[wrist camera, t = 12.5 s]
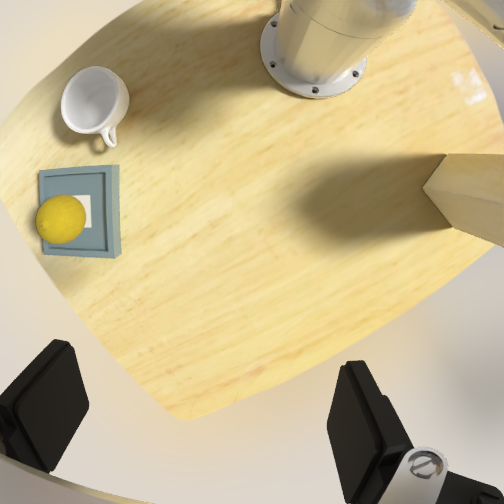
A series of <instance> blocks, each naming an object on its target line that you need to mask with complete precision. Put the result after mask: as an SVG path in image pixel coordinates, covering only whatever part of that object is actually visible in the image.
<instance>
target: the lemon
mask: <svg viewBox="0 0 504 504" xmlns="http://www.w3.org/2000/svg"><path fill="white" fill-rule="evenodd" d="M85 223H86V212H85V209H84V207H83V205H82V203H81V202H80V201H79V200H78V199H77V198H75V197H73V196H70V195H57V196H54V197H51V198H50V199H48V200H47V201H45V202H44V203H43V204H42V205H41V207H40V208H39V210H38V212H37V215H36V228H37V231H38V233H39V235H40V236H41V237H42V238H43V239H44V240H45V241H47V242H49V243H52V244H65V243H68V242H70V241H72V240H74V239H75V238H76V237H78V236H79V235H80V233H81V232H82V231H83V229H84V226H85Z"/></svg>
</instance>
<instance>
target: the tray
mask: <svg viewBox="0 0 504 504" xmlns="http://www.w3.org/2000/svg"><path fill="white" fill-rule="evenodd" d="M39 191H40V207H41V205H42V204H43V203H44V202H45V201H47V200H48V199H50V198H51V197H54V196H57V195H70V196H73V197H75V198H77V199H78V200H79V201H80V202H81V203H82V205H83V207H84V209H85V212H86V223H85V226H84V229H83V231H82V232H81V233H80V235H79V236H78V237H76V238H75V239H74V240H72V241H70V242H68V243H65V244H52V243H49V242H47V241H45V240H44V239H43V238H42V239H43V248H44V255H60V256H78V257H96V258H116V257H117V256H119V255H120V254H121V238H120V212H119V165H101V166H85V167H72V168H60V169H49V170H39Z"/></svg>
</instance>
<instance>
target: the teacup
mask: <svg viewBox="0 0 504 504" xmlns="http://www.w3.org/2000/svg"><path fill="white" fill-rule="evenodd" d="M128 106H129V93H128V90H127V87H126V85H125V83H124V82H123V80H122V79H121V78H120V77H119V76H118V75H116V74H115V73H114V72H113V71H111V70H109V69H107V68H104V67H101V66H91V67H87V68H84V69H82V70H81V71H79V72H78V73H76V74H75V75H74V76H73V77H72V78H71V79H70V81H69V82H68V84H67V85H66V87H65V89H64V92H63V95H62V99H61V113H62V117H63V119H64V121H65V123H66V125H67V126H68V127H69V128H70V129H72V130H73V131H75V132H78V133H82V134H99V133H100V134H101V135H102V137H103V139H104V141H105V143H106V144H107V146H108V147H110V148H114V147H116V145H117V139H116V127H117V125H118V124H119V123H120V122H121V120H122V119H123V118H124V116H125V114H126V112H127V109H128ZM108 134H109V135H110V137H111V140H112V142H111V141H110V139H109V136H108Z"/></svg>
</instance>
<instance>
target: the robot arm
mask: <svg viewBox="0 0 504 504" xmlns="http://www.w3.org/2000/svg"><path fill="white" fill-rule="evenodd" d="M441 1H443V2H445V3H446V4H447V5H449V6H450V7H451V8H453V9H454V10H456V11H457V12H458V13H459V14H461V15H462V16H463V17H465V18H466V19H467V20H469V21H470V22H471V23H472V24H474V25H475V26H476V27H477V28H479V29H480V30H481V31H482V32H483V33H485V34H486V35H487V36H488V37H489V38H490V39H492V40H493V41H494V42H495V43H496V44H497V45H498V46H499V47H501V48H502V49H503V50H504V0H441ZM416 3H417V0H282V4H281V9H280V12H279V13H277V14H276V15H275V16H273V17H272V18H271V19H270V20H269V22H268V23H267V24H266V26H265V28H264V30H263V32H262V35H261V41H260V52H261V57H262V61H263V63H264V65H265V68H266V69H267V71H268V72H269V74H270V75H271V76H272V77H273V78H274V79H275V80H276V82H277V83H279V84H280V85H281V86H283V87H284V88H285V89H287V90H289V91H291V92H293V93H295V94H298V95H301V96H304V97H309V98H315V99H321V98H331V97H336V96H338V95H340V94H343V93H345V92H346V91H348V90H350V89H351V88H352V87H353V86H354V85H356V84H357V83H358V81H359V80H360V79H361V77H362V76H363V73H364V71H365V69H366V63H367V56H368V55H369V54H370V53H371V52H372V51H373V50H374V49H376V48H377V47H378V46H379V45H380V44H381V43H382V42H384V41H385V40H386V39H387V38H388V37H389V36H391V35H392V34H393V33H394V32H395V31H396V30H398V29H399V28H400V27H401V26H402V25H403V24H404V23H405V22H406V21H407V20H408V19H409V18H410V16H411V15H412V13H413V11H414V9H415V6H416ZM272 26H276V27H272ZM271 65H274V66H275V67H274V68H271ZM352 74H354V75H355V77H354V76H353V75H352ZM312 90H315V91H316V93H312ZM88 409H89V401H88V397H87V394H86V391H85V388H84V384H83V381H82V377H81V373H80V370H79V366H78V362H77V358H76V354H75V350H74V348H73V347H72V346H71V345H70V343H69V342H67V341H63V340H57V339H54V340H53V341H52V342H51V343H50V344H49V345H48V346H47V347H46V348H45V349H44V350H43V351H42V352H41V353H40V354H39V355H38V356H37V357H36V358H35V359H34V360H33V361H32V362H31V363H30V364H29V365H28V366H27V367H26V368H25V369H24V370H23V371H22V373H20V375H19V376H18V377H17V378H16V379H15V380H14V381H13V382H12V383H11V384H10V385H9V386H8V387H7V389H6V390H5V391H4V392H3V393H2V394H1V395H0V504H153V503H148V502H142V501H138V500H133V499H129V498H124V497H120V496H116V495H112V494H108V493H104V492H101V491H98V490H94V489H91V488H87V487H84V486H81V485H78V484H75V483H72V482H69V481H66V480H63V479H60V478H58V477H55V476H52V475H50V474H49V473H50V471H54V469H55V468H56V466H57V464H58V462H59V461H60V459H61V457H62V455H63V453H64V451H65V450H66V448H67V446H68V444H69V443H70V441H71V439H72V437H73V435H74V434H75V432H76V430H77V429H78V427H79V425H80V423H81V421H82V420H83V418H84V416H85V415H86V413H87V411H88ZM327 431H328V435H329V439H330V443H331V447H332V450H333V455H334V459H335V463H336V467H337V471H338V474H339V479H340V483H341V487H342V491H343V495H344V499H345V502H346V503H347V504H350V503H351V504H504V496H503V494H502V493H501V491H500V490H498V489H497V488H496V487H494V486H491V485H488V484H485V483H482V482H479V481H476V480H473V479H470V478H467V477H464V476H461V475H458V474H455V473H453V472H450V471H447V470H448V463H447V460H446V458H445V457H444V455H443V454H442V453H440V452H439V451H438V450H435V449H433V448H429V447H417V448H414V447H413V445H412V443H411V441H410V439H409V437H408V435H407V433H406V431H405V429H404V427H403V425H402V423H401V421H400V419H399V417H398V415H397V413H396V411H395V409H394V408H393V406H392V404H391V402H390V400H389V398H388V397H387V396H385V395H382V394H381V392H380V390H379V388H378V386H377V384H376V382H375V380H374V378H373V376H372V374H371V372H370V371H369V369H368V367H367V365H366V363H365V362H364V361H363V360H361V361H360V360H359V361H347V362H346V364H345V365H344V366H343V365H342V366H341V367H340V371H339V376H338V380H337V384H336V388H335V393H334V397H333V401H332V405H331V409H330V413H329V417H328V420H327Z"/></svg>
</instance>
